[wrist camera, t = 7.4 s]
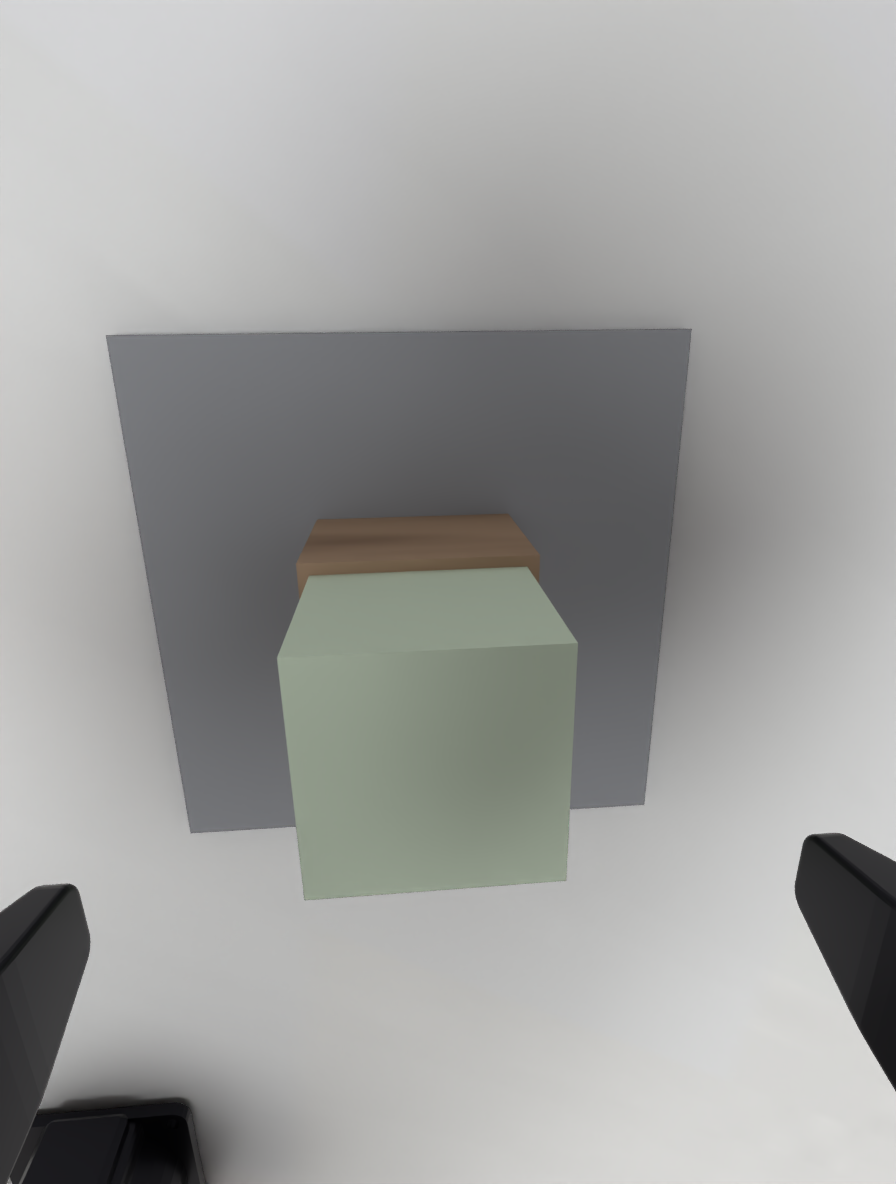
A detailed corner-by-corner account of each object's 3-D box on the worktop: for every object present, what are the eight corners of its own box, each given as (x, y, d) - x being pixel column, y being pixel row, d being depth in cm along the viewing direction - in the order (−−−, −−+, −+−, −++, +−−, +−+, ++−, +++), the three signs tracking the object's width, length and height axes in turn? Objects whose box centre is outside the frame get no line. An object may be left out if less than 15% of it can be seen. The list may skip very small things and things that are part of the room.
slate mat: (639, 796, 21) (644, 804, 21) (194, 824, 20) (190, 833, 20) (685, 329, 17) (691, 329, 16) (112, 335, 16) (105, 335, 15)
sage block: (522, 752, 15) (566, 880, 12) (326, 764, 15) (304, 900, 11) (527, 566, 14) (577, 642, 10) (309, 575, 14) (277, 657, 10)
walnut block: (505, 683, 19) (532, 762, 15) (331, 692, 19) (315, 774, 15) (508, 513, 18) (539, 554, 14) (317, 519, 17) (296, 563, 13)
